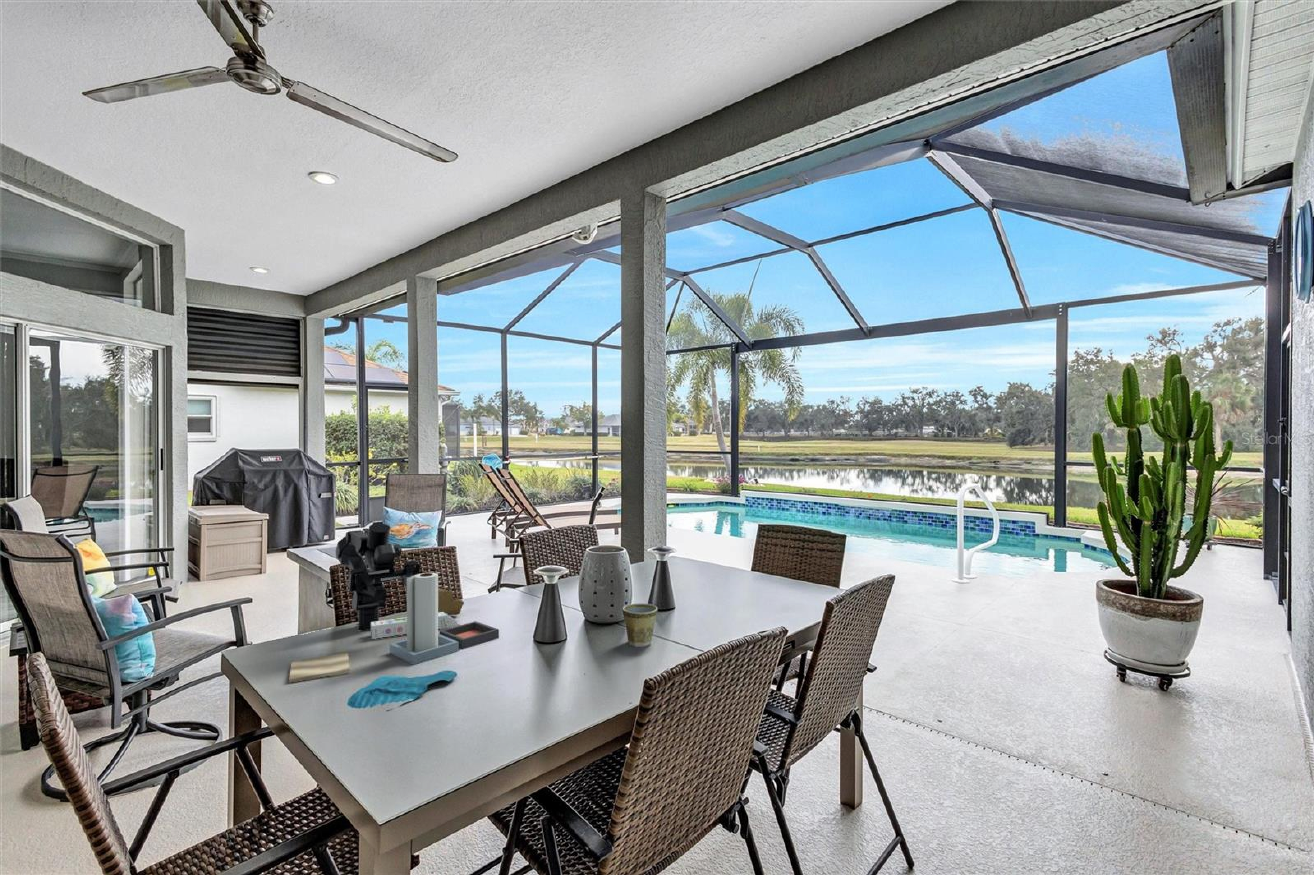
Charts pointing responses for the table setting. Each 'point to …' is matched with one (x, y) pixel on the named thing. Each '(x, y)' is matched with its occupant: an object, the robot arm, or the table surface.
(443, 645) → the blue square frame
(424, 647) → the paper towel roll
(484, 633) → the tray
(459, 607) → the wooden carving
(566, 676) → the table surface
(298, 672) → the wooden pad
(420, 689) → the blue flat elongated piece
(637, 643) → the ceramic cup
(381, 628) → the box
